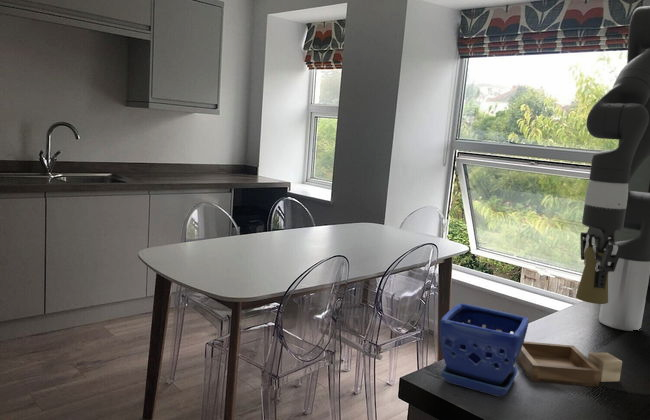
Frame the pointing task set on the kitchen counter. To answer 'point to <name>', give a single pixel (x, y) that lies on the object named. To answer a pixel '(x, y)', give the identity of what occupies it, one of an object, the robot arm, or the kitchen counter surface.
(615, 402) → the kitchen counter surface
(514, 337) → the flower pot
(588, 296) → the cork
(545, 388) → the kitchen counter surface
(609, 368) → the beech block
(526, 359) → the tray
